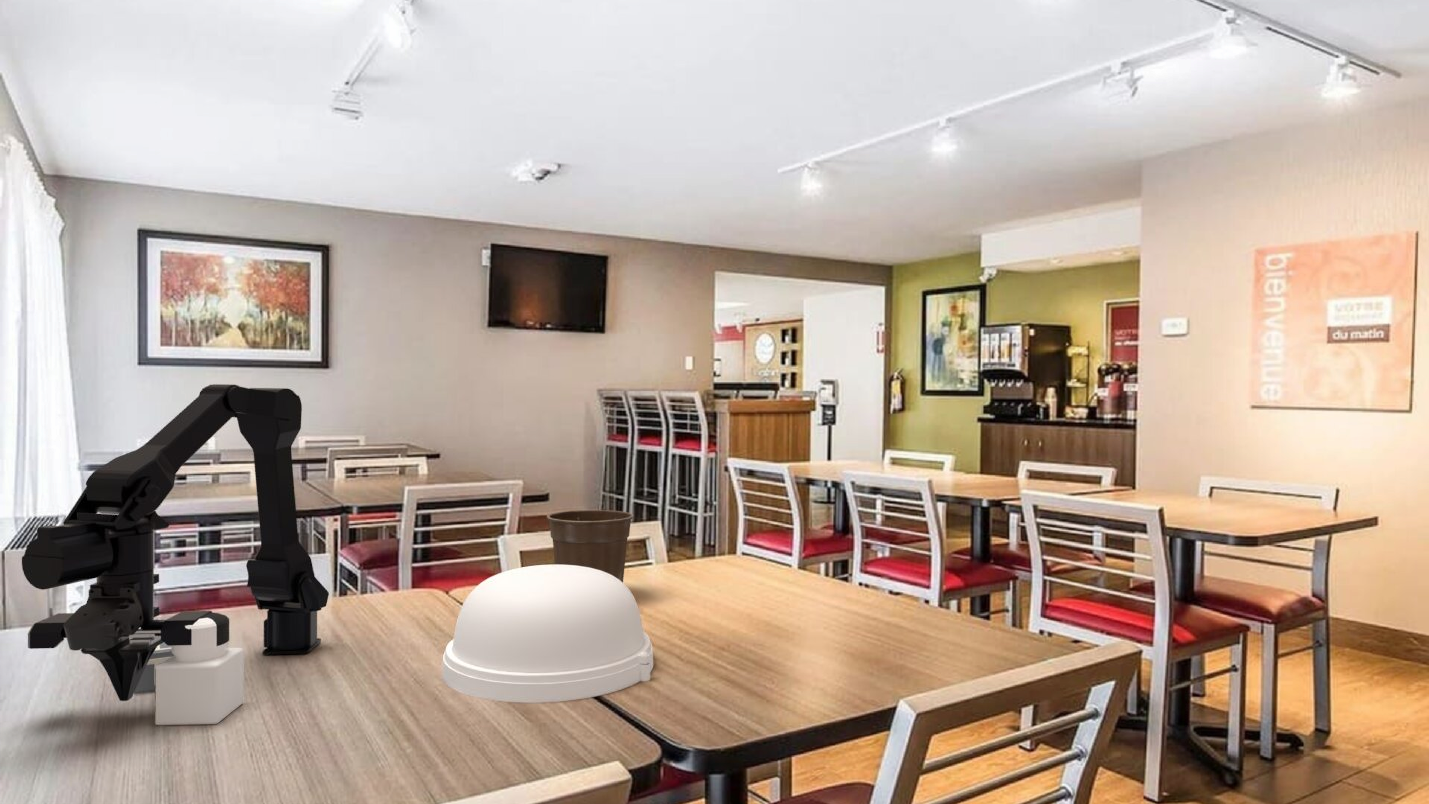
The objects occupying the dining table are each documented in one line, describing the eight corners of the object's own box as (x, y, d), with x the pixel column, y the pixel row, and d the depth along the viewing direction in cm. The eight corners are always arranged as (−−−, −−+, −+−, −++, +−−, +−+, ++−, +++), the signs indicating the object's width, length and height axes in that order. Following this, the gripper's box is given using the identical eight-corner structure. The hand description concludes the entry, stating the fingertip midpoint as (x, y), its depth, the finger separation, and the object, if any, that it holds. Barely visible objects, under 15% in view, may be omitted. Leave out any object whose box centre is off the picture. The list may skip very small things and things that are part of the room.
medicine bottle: (185, 704, 110) (185, 609, 109) (244, 703, 110) (244, 608, 110) (153, 726, 102) (153, 624, 102) (217, 725, 103) (217, 623, 103)
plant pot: (561, 587, 175) (562, 507, 175) (640, 591, 173) (641, 509, 172) (534, 608, 159) (534, 519, 158) (620, 612, 157) (621, 522, 156)
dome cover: (692, 651, 134) (693, 560, 134) (596, 719, 107) (597, 605, 106) (515, 628, 146) (516, 544, 146) (388, 684, 118) (388, 581, 118)
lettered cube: (135, 683, 117) (135, 645, 117) (178, 676, 120) (178, 639, 120) (134, 695, 113) (134, 655, 113) (179, 688, 116) (179, 649, 115)
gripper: (-7, 587, 96) (-6, 728, 96) (174, 585, 98) (174, 723, 98) (58, 566, 107) (58, 693, 107) (219, 564, 109) (219, 688, 109)
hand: (125, 699), depth 105 cm, fingers closed
